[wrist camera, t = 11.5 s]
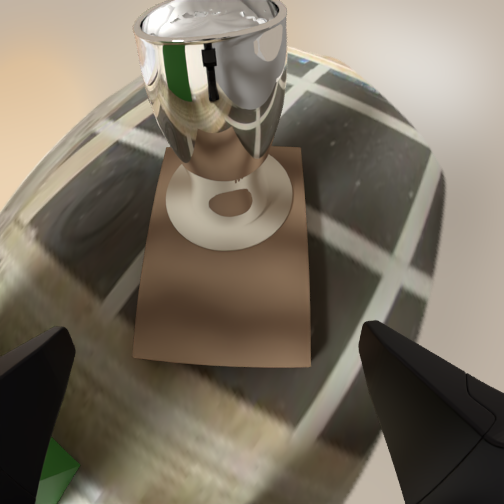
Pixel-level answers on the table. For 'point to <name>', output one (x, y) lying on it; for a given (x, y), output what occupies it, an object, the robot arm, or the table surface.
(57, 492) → the hardback book
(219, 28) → the metal tumbler
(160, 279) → the walnut base
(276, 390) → the table surface
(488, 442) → the robot arm
